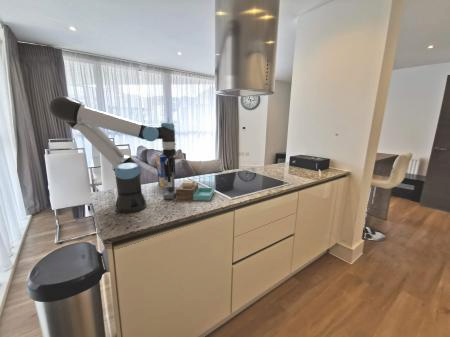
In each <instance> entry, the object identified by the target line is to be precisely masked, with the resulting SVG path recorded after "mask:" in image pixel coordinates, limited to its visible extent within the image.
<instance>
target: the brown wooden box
mask: <svg viewBox="0 0 450 337" xmlns="http://www.w3.org/2000/svg"><path fill="white" fill-rule="evenodd" d="M177 187H178V188H177V189H176V200H193V195H194V193H195V192H196V191H197V189H198V188H199V183H198V182H194V186H193V187H192V188H182V184H180V186H177ZM193 201H194V200H193Z"/></svg>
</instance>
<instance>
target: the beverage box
mask: <svg viewBox="0 0 450 337" xmlns="http://www.w3.org/2000/svg"><path fill="white" fill-rule="evenodd" d="M155 157H156V168H157V170H156V171H157V181H158V185H159V186H160V187H161V188H163V189H165V188H168V181H167V177H166V176H165V166H164V161H166V156H164V155H163V154H156V156H155Z"/></svg>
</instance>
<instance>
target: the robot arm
mask: <svg viewBox="0 0 450 337" xmlns="http://www.w3.org/2000/svg"><path fill="white" fill-rule="evenodd" d="M48 109H49V112H50V114H51V115H52V116H53V117H54V118H55V119H57V120H59V121H61V122H65V123H66V124H67V126H69V127H70V128H71V129H72V130H73V131H75V130H76V131H79V132H80V134H82V136H83V137H84V138H85V139H86V140H87V141H89V143H90V144H91V145H92V146H93V147H94V148H95V149H96V150H97V151H98V152H99V153H100V154H101V155H102V157H103V158H105V159H106V160H107V161H108V162H109V164H110V165H112V170H113V171H114V175H115V183H116V191H117V198H116V201H115V208H114V209H115V211H116V212H117V213H121V214H128V213H129V214H130V213H131V214H132V213H136V212H139V211H142V210H144V209H145V208H146V207H147V201H146V199H145V196H144V194H143V192H142V190H143V189H142V181H141V177H142V172H143V170H142V167H141V165H140V164H139V163H138V162H136V161H135V159H133V158H132V157H131V156H130V155H125V153H124V152H123V151H122V150H121V149H120V148H119V147H118V146H117V145H116V144H115V143H114V142H113V141H112V140H111V138H110V137H109V136H108V135H107V134H106V133H105V132H104V131H103V130H102V129H106V130H109V131H113V132H116V133H119V134H124V135H128V136H131V137H134V138H137V139H138V138H139V139H141V140H146V141H147V142H154V141H156V140H162V142H161V144H162V155H164V156H166V161H164V166H165V176H166V177H167V181H168V187H172V177H171V172H174V176H175V175H176V157H174V156H176V154H177V153H176V152H177V151H176V145H177V143H176V131H175V124H174V123H173V122H161V124H160V125H159V126H158V125H157V126H156V125H155V126H154V125H148V124H144V123H141V122H138V121H134V120H131V119H128V118H125V117H123V116H122V117H121V116H117V115H115V114H111V113H108V112H105V111H101V110H97V109H94V108H90V107H87V105H85V104H84V103H83V102H82V101H80V100H78V99H76V98H72V97H69V96H65V95H59V96H55V97H53V98H52V99H51V100H50V102H49V105H48ZM174 186H175V183H174ZM168 187H167V188H168Z"/></svg>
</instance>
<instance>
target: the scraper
mask: <svg viewBox="0 0 450 337" xmlns="http://www.w3.org/2000/svg"><path fill="white" fill-rule="evenodd" d="M174 174H175V173H174V172H171V177H172V187H167V191H166V192H165V193H164V194H163V195H162V196H163V199H164V200H165V199H166V200H174V199H175V198H177V196H176V189H177V188H178V187H179V186H175V185H174V184H175V175H174Z"/></svg>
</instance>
